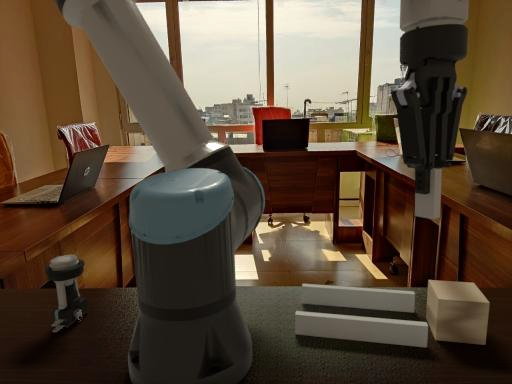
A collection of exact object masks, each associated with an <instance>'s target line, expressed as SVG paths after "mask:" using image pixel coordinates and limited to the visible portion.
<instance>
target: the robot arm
mask: <svg viewBox="0 0 512 384" xmlns="http://www.w3.org/2000/svg"><path fill="white" fill-rule="evenodd" d="M53 2H54V4H55V6H56V8H57V9H58V11H59V12H60V14H61V16H63V19H64V21H65V22H66V23H67V24H68V25H69V26H70V27H73V28H75V29H77V30H82V31H83V32H84V33H85V36H86V37H87V38H88V40H89V42H90V44H91V46H92V47H93V49H94V50H95V52H96V54H97V55H98V57H99V58H100V60H101V62H102V64H103V65H104V67H105V69H106V70H107V72H108V74H109V75H110V77H111V79H112V80H113V83H114V85H115V86H116V87H117V89H118V91H119V93H120V94H121V96H122V98H123V99H124V101H125V102H126V104H127V106H128V108H129V109H130V111H131V113H132V114H133V116H134V118H135V119H136V121H137V123H138V124H139V126H140V128H141V130H142V131H143V133H144V134H145V136H146V137H147V139H148V141H149V143H150V145H151V146H152V148H153V150H154V151H155V153H156V155H157V157H158V159H159V160H160V161H161V163H162V165H163V167H164V171H165V172H160V173H156V174H154V175H151V176H148V177H146V178H144V179H142V180H141V181H139V182H137V184H135V186H133V188H132V190H131V192H130V195H129V213H128V214H129V215H128V225H129V228H130V235H131V242H132V243H131V244H132V253H133V262H134V272H135V282H136V291H137V292H136V293H137V301H138V314H137V318H136V321H135V325H134V329H133V333H132V336H131V337H132V338H131V340H130V341H131V342H130V345H129V350H128V355H127V356H128V357H127V363H128V373H129V379H130V382H131V384H239V383H240V382H241V381H242V380H243V379H244V378H245V376H246V375H247V374H248V372H249V371H250V369H251V367H252V364H253V340H252V336H251V332H250V330H249V327H248V325H247V322H246V320H245V318H244V315H243V313H242V309H241V307H240V305H239V302H238V299H237V286H236V285H237V284H236V282H237V280H236V257H235V256H236V254H235V253H236V251H237V249H238V248H239V247H240V246H241V245H242V244H243V243H244V241H245V240H246V239H247V238H248V237H249V236H251V234H252V233H253V232H254V231H255V230H256V229H257V227H258V225H259V223H260V222H261V219H262V216H263V214H264V211H265V207H266V205H265V204H266V198H265V196H266V195H265V190H264V187H263V185H262V184H261V183H262V182H261V181H260V180H259V178H258V177H257V175H255V174H254V173H253V172H252V171H251V170H250V169H249V168H247V167H244V166H243V165H242V164H241V163H240V161H239V160H238V157H237V156H236V154H235V152H234V151H233V149H232V147H231V146H230V145H229V144H227V143H224V142H221V141H217V140H215V138H214V136H213V134H212V133H211V131H210V129H209V128H208V126H207V124H206V122H205V120H204V118H203V117H202V115H201V114H200V112H199V111H198V109H197V106H196V105H195V104H194V102H193V100H192V99H191V96H190V95H189V93H188V92H187V90H186V87H185V86H184V84H183V83H182V81H181V80H180V78H179V76H178V74H177V72H176V71H175V69H174V67H173V66H172V64H171V62H170V60H169V59H168V57H167V55H166V54H165V52H164V51H163V49H162V46H161V45H160V43H159V42H158V40H157V38H156V37H155V34H154V33H153V32H152V30H151V28H150V26H149V24H148V23H147V21H146V19H145V18H144V16H143V14H142V13H141V11H140V9H139V7H138V5H137V0H53ZM469 6H470V0H400V6H399V7H400V9H399V30H401V32H404V33H402V35H401V36H400V37H399V63H400V65H402V66H404V67H407V69H406V72H405V76H404V81H405V82H404V84H402V86H401V87H398V88H397V87H396V88H393V89H392V90H391V92H390V95H391V99H392V102H393V104H394V106H395V109H396V116H397V122H398V124H397V125H398V131H399V136H400V137H399V139H400V144H401V145H400V147H401V152H402V159H403V160H402V161H403V164H404V165H405V166H407V168H410V169H414V192H415V193H414V198H415V199H414V217H419V218H423V219H424V218H425V219H429V220H437V219H440V218H441V201H442V199H441V198H442V178H443V175H442V173H443V168H450V167H452V162H451V161H453V159H454V157H455V151H456V144H457V138H458V133H459V127H460V121H461V115H462V110H463V104H464V102H465V99H466V98H467V94H468V88H467V87H466V86H464V87H463V86H461V87H459V86H458V84H457V77H458V76H457V72H456V63H457V62H458V61H462V60H464V59H465V58H466V57H467V55H468V37H469V36H468V35H469V28H468V27H467V25H465V24H464V23H467V20H468V19H469V10H470V9H469Z"/></svg>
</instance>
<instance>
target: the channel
mask: <svg viewBox="0 0 512 384" xmlns="http://www.w3.org/2000/svg"><path fill="white" fill-rule="evenodd" d="M301 285H302V286H301V304H304V305H315V306H328V307H330V306H331V307H341V308H342V307H343V308H350V309H351V308H354V309H364V310H374V311H375V310H377V311H390V312H402V313H415V303H416V292H415V291H414V290H413V291H412V290H398V289H384V288H369V287H358V286H357V287H356V286H355V287H354V286H341V285H329V284H328V285H327V284H313V283H312V284H311V283H302V284H301ZM294 323H295V324H294V327H295V328H294V329H295V331H294V333H295V335H297V336H298V335H299V336H307V337H308V336H309V337H310V336H311V337H317V338H318V337H320V338H329V339H338V340H349V341H357V342H358V341H360V342H369V343H379V344H388V345H389V344H390V345H396V346H397V345H400V346H409V347H417V348H428V335H429V324H428V321H427V322H426V321H418V320H417V321H416V320H404V319H396V318H395V319H392V318H381V317H370V316H359V315H347V314H338V313H337V314H334V313H324V312H313V311H301V310H296V311H295V315H294Z"/></svg>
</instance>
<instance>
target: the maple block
mask: <svg viewBox="0 0 512 384" xmlns="http://www.w3.org/2000/svg"><path fill="white" fill-rule="evenodd" d="M426 294H427V295H426V296H427V297H426V310H425V318H426V320H427V324H428V327H429V328H430V331H431V333H432V335H433V337H434V340H435V341H439V342H440V341H443V342H452V343H464V344H473V345H474V344H475V345H484V346H486V342H487V334H488V332H487V331H488V324H489V323H488V321H489V313H490V301H489V300H488V299H487V297H486V296H485V295H484V294H483V292H482V291H481V290H480V289H479V287H478V286H477V285H476V284H475V282H467V281H466V282H465V281H451V280H450V281H449V280H437V279H436V280H435V279H434V280H433V279H428V280H427V293H426Z"/></svg>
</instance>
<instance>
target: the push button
mask: <svg viewBox="0 0 512 384" xmlns="http://www.w3.org/2000/svg"><path fill="white" fill-rule="evenodd" d="M84 267H85V260H83V259H80V258H78V257H77V255H75V254H64V255H59V256H56V257H54V258H52V259H50V263H49V264H48V265H46V266H45V267H44V273H45V274H46V278H47V280H48V281H52V282H54V284H55V287H56V294H57V306H58V309H56V310H55V312H54V317H55V320H54V322H53V323H52V324H51V325H50V326H51V327H55V328H54V329H53V330H52V333H57V332H59V331H60V330H61V329H64V328H63V327H65V326H68V325H69V324H70V323H71V322H73V321H74V320H75V319H76V318H77V319H78V320H80V319H79V316H81V317H83V316H82V313H83V314H84V313H85V312H86V311H88V312H89V308H88V300H87V298H81V294H80V292H79V290H80V289H79V284H78V278H79V277H80V276H81V275H83V273H84V272H85V271H84V270H85V268H84ZM80 321H81V320H80ZM57 325H58V326H57Z"/></svg>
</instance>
